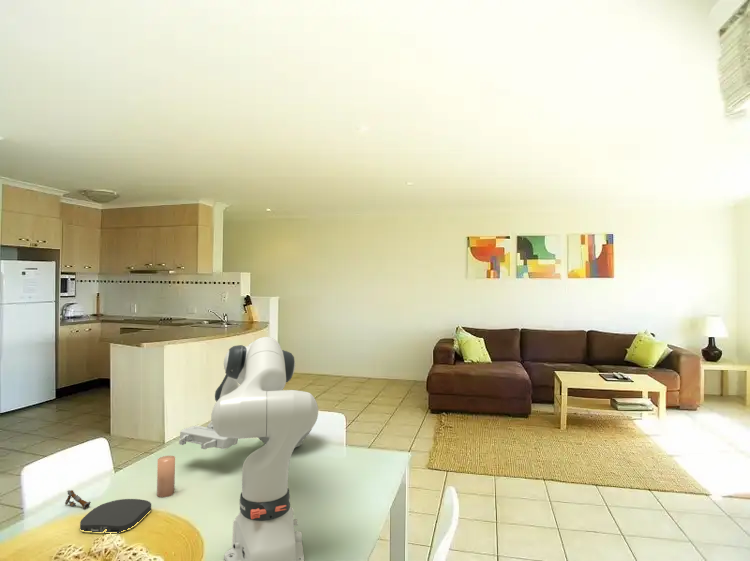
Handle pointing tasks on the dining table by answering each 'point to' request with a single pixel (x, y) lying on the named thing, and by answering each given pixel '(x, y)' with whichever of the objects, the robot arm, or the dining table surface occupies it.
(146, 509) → the media streaming box
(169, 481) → the salmon orange cylinder
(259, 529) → the robot arm
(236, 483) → the dining table surface
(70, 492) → the brown grey jointed tubes
